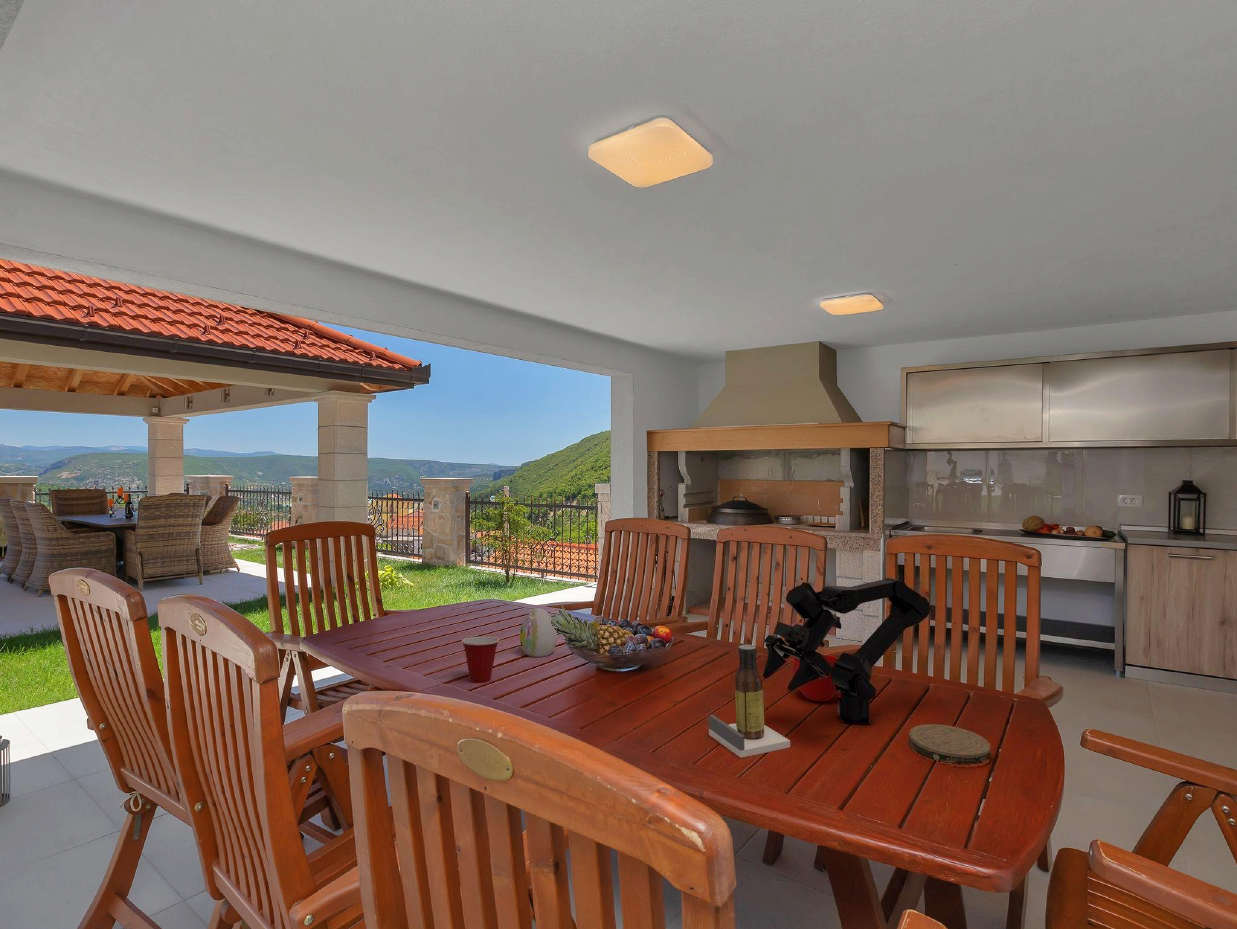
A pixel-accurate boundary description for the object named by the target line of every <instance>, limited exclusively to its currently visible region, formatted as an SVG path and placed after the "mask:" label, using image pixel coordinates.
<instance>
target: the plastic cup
mask: <svg viewBox="0 0 1237 929" xmlns="http://www.w3.org/2000/svg"><path fill="white" fill-rule="evenodd" d="M499 641H500V638H498V637H495V636H494V637H493V636H472V637H466V638H463V639H461V643H462V645H463V648H464V652H465V658H466V664H467V669H468V675H469V679H470V682H472V683H475V684H476V683H477V684H479V683H487V682H489V681H491V679H492V672H493V668H494V663H495V658H496V657H495V656H496V651H497V646H498V643H499Z"/></svg>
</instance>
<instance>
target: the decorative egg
mask: <svg viewBox="0 0 1237 929" xmlns="http://www.w3.org/2000/svg"><path fill="white" fill-rule="evenodd" d="M552 619H553V616H552V615H550V613H549V612H548V611H547V610H545V609H543V608H541V607H538V608H534V609H532V610H530V612H529V613H527V615H526V616H525V618H524V619H523V622H522V623H521V627H520V630H519V631H520V632H519V642H520V646H521V649H522V651H523V652H524V654H525V655H526V656H528V657H533V658H542V657H546V656H547V657H548V656H550V655H551V654H552V652H553V651H554V649H555V647H556V645H557V642H558V632H557V631H556V630H557V629H556V630H555V629H554V627H553V626H552V625H551V620H552Z"/></svg>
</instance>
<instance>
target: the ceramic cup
mask: <svg viewBox="0 0 1237 929" xmlns="http://www.w3.org/2000/svg"><path fill="white" fill-rule="evenodd" d="M821 654H822V653H821ZM822 655H823V656H824V658H825V659H826V660H827V661H828V662H829V663H830V664H831V665H832V667H833V665H834V663H833V662H835V661H836V660H837V659H838V658H839V657H835V656H833V655H828V654H824V653H823V654H822ZM799 663H800V659H797V658H795V657H793V659H792V672H793V676H794V675H795V673H796V672H797V670H798V669H799ZM821 676H822V675H821ZM797 689H799V691H800V693H801V694H802V695H803V696H804V697H805V699H807V700H809V699H810V700H809V701H811V700H812V702H816V701H818V703H824V702H825V703H826V702H829V701H831V699H832V698H833V697H834V696H835V695H836V694H837V692H838V691H837V690H835V687H834V684H833V682H832V680H831V673H830V674H829V676H828V677H824V676H822V678H821V679H820V678H818V679H816V680H813V681H811V682H809V683H806V684H804V685H802V686H800V687H798V688H797Z"/></svg>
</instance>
